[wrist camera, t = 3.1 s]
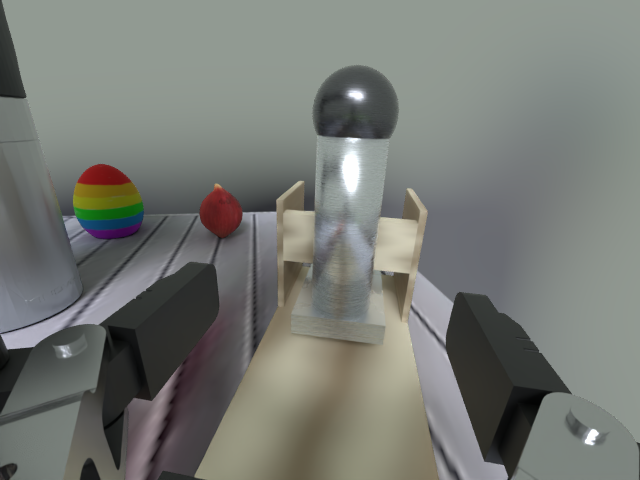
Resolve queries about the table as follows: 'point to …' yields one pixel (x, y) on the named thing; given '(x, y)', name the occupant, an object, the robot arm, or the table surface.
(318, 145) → the shaft
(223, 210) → the onion
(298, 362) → the frame
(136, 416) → the table surface
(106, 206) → the decorative egg
